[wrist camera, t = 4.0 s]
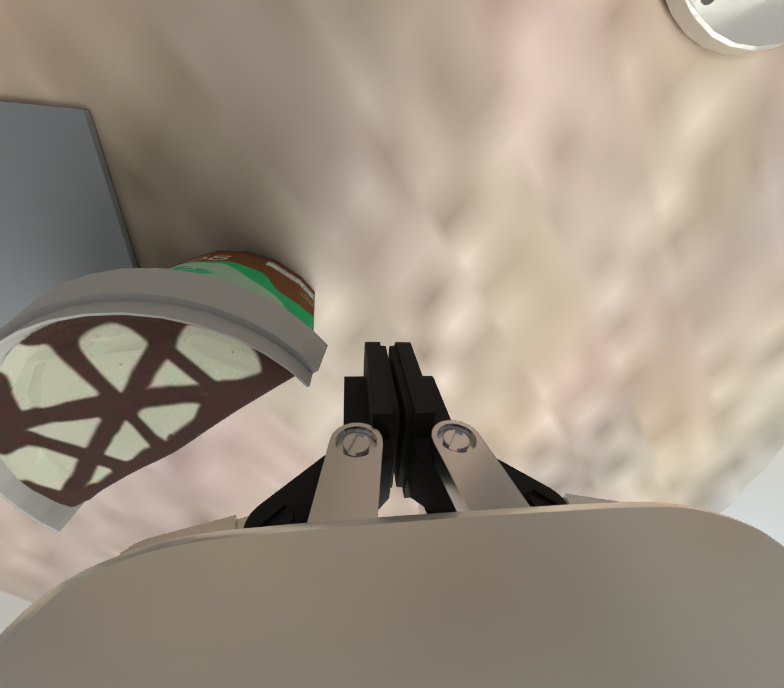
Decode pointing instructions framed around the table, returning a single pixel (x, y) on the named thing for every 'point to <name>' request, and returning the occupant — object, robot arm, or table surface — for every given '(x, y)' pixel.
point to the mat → (54, 204)
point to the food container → (141, 370)
